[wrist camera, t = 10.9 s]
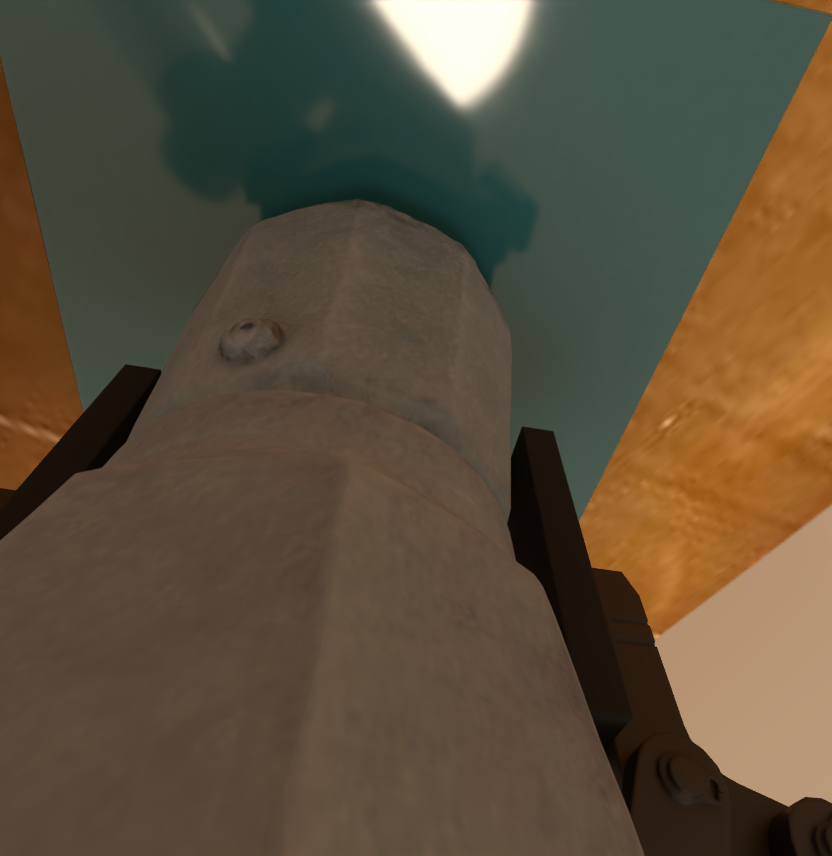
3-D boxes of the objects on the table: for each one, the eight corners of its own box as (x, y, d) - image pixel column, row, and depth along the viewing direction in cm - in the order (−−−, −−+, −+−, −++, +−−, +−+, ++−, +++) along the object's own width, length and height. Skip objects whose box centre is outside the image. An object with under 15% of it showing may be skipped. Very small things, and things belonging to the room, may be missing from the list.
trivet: (-28, -179, 12) (-60, -191, 12) (813, 13, 14) (836, 14, 13) (112, 480, 24) (101, 497, 23) (556, 542, 26) (560, 559, 25)
